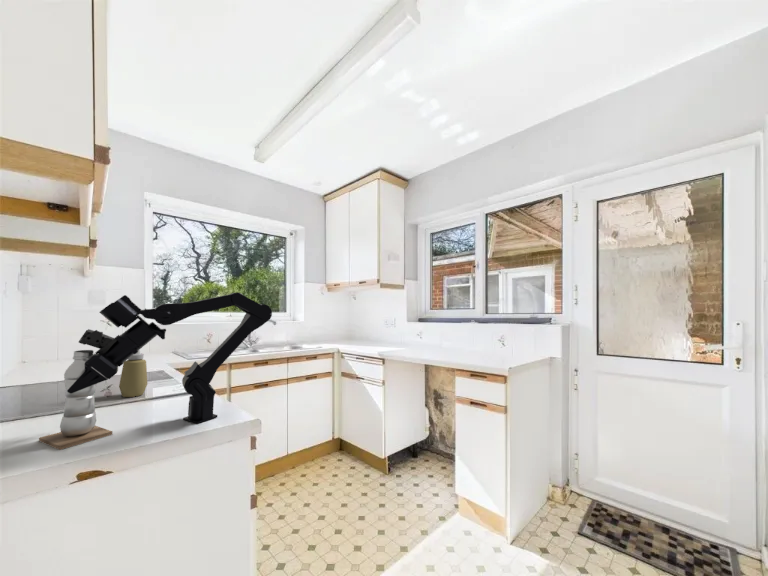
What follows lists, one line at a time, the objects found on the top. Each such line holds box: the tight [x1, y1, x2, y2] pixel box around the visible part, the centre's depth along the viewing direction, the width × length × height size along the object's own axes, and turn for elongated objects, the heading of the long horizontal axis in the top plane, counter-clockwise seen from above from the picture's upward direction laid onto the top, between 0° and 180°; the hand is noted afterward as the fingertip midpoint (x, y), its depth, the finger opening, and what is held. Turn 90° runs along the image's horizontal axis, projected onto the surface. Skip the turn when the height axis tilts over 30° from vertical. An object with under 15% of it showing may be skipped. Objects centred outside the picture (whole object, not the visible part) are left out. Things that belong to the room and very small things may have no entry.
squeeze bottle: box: [118, 349, 148, 398], centre depth 117 cm, size 8×8×18 cm
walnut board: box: [38, 425, 113, 451], centre depth 80 cm, size 10×10×1 cm
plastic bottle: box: [59, 349, 97, 436], centre depth 81 cm, size 6×7×20 cm
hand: (72, 387), depth 80 cm, fingers open, 9 cm apart
